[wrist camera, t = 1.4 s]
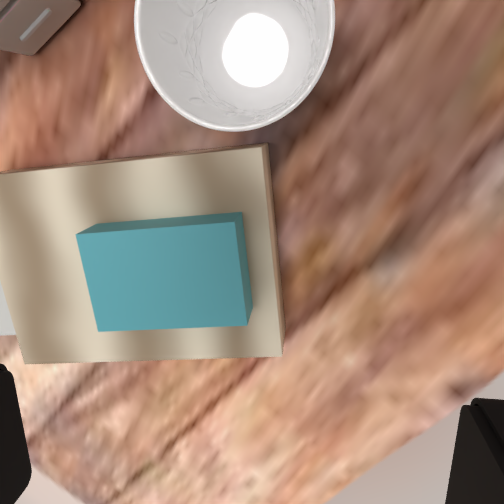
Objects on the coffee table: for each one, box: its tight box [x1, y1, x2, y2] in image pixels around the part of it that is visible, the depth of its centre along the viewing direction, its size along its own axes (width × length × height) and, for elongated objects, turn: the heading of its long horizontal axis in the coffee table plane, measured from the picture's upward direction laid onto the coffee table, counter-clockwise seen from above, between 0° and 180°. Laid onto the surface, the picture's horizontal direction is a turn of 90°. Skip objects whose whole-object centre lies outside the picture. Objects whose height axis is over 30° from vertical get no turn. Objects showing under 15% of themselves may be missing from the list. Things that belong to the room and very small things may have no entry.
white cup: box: [134, 0, 335, 132], centre depth 22 cm, size 8×8×10 cm
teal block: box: [75, 212, 253, 332], centre depth 25 cm, size 9×6×2 cm, turn 96°
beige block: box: [0, 143, 286, 364], centre depth 29 cm, size 18×13×4 cm
